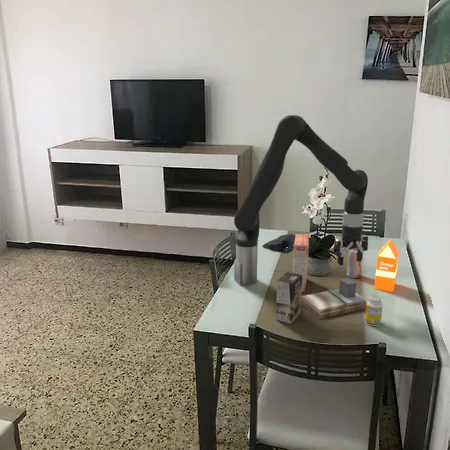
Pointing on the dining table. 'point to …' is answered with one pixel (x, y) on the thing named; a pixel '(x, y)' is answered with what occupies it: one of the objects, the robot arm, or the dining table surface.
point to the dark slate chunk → (281, 243)
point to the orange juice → (386, 267)
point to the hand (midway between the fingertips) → (349, 262)
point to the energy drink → (353, 264)
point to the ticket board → (328, 304)
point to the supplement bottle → (373, 311)
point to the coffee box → (288, 297)
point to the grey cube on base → (348, 292)
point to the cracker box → (301, 257)
